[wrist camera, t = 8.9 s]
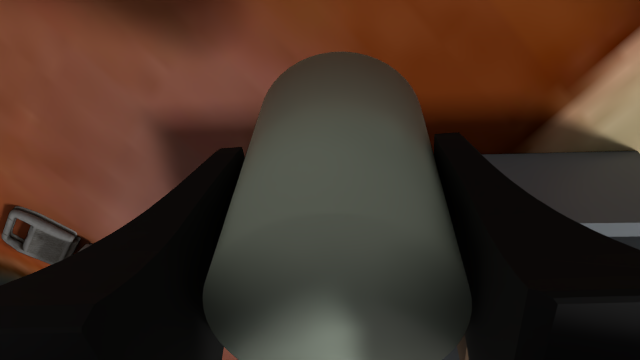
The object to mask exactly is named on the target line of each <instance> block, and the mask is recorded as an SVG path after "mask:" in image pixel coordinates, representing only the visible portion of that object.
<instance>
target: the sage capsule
mask: <svg viewBox="0 0 640 360" xmlns="http://www.w3.org/2000/svg"><path fill="white" fill-rule="evenodd" d="M202 299H203V309H204V313H205V316H206V320H207V322H208V324H209V326H210V328H211V330H212V332H213V333H214V335H215V336H216V338H217V339H218V340H219V342H220V343H221V344H222V345H223V346H224V347H225V348H226V349H227V350H228V351H229V352H230V353H231V354H233V355H234V356H235V357H236V358H237V359H239V360H442V359H444V358H445V357H446V356H447V355H448V354H449V353H451V351H452V350H453V349H454V348H455V347H456V346H457V345H458V343H459V342H460V340H461V339H462V337H463V336H464V334H465V332H466V330H467V327H468V325H469V322H470V318H471V313H472V297H471V293H470V288H469V284H468V280H467V276H466V273H465V269H464V265H463V262H462V258H461V254H460V251H459V247H458V243H457V239H456V236H455V232H454V228H453V225H452V221H451V217H450V214H449V210H448V206H447V202H446V199H445V195H444V191H443V188H442V184H441V180H440V177H439V173H438V169H437V165H436V162H435V158H434V154H433V151H432V147H431V143H430V140H429V136H428V132H427V128H426V125H425V121H424V117H423V114H422V110H421V106H420V103H419V101H418V98H417V96H416V94H415V92H414V90H413V89H412V87H411V86H410V84H409V83H408V82H407V81H406V79H405V78H404V77H403V76H402V75H401V74H400V73H398V72H397V71H396V70H395V69H393V68H392V67H390V66H389V65H388V64H386V63H384V62H382V61H380V60H378V59H375V58H373V57H370V56H367V55H363V54H358V53H352V52H330V53H323V54H319V55H315V56H312V57H309V58H307V59H304V60H302V61H300V62H298V63H296V64H295V65H293V66H291V67H290V68H288V69H287V70H286V71H285V72H284V73H282V74H281V75H280V76H279V77H278V78H277V80H276V81H275V82H274V83H273V84H272V86H271V87H270V89H269V90H268V92H267V94H266V96H265V98H264V101H263V104H262V107H261V110H260V113H259V116H258V119H257V122H256V125H255V129H254V132H253V135H252V138H251V141H250V144H249V147H248V150H247V153H246V156H245V159H244V163H243V166H242V169H241V172H240V175H239V178H238V181H237V184H236V187H235V190H234V194H233V197H232V200H231V203H230V206H229V209H228V212H227V215H226V218H225V221H224V225H223V228H222V231H221V234H220V237H219V240H218V243H217V246H216V249H215V252H214V256H213V259H212V262H211V265H210V268H209V271H208V274H207V277H206V280H205V284H204V288H203V297H202Z"/></svg>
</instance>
